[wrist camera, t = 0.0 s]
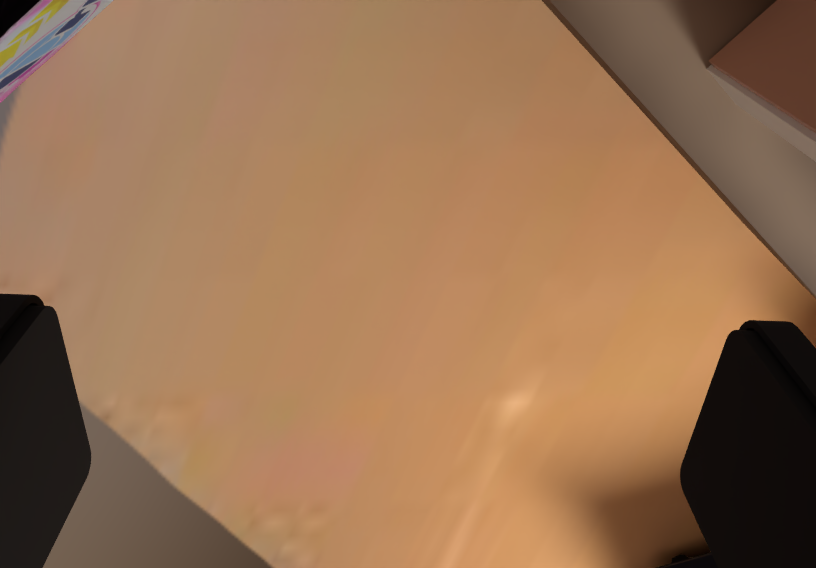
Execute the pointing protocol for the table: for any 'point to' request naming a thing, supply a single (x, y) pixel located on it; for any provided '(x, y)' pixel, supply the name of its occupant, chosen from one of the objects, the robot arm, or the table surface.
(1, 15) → the gum box
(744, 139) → the walnut block
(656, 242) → the table surface
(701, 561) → the speaker
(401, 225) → the table surface
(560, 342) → the table surface
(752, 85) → the tile
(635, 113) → the table surface
